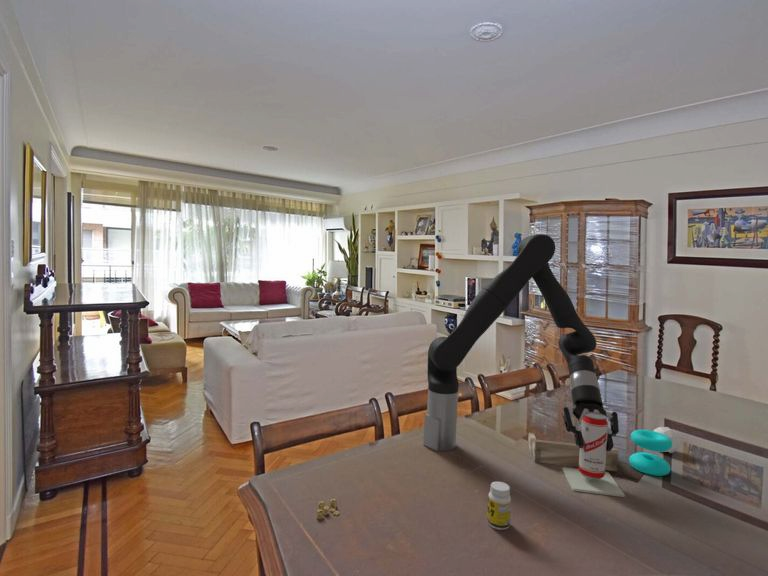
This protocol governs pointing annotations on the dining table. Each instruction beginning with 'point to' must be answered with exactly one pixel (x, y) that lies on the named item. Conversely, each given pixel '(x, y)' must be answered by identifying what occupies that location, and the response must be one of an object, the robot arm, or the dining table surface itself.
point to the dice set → (326, 508)
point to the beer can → (593, 445)
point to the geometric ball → (671, 435)
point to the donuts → (646, 460)
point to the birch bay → (564, 453)
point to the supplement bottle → (499, 506)
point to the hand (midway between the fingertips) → (595, 448)
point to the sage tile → (592, 483)
